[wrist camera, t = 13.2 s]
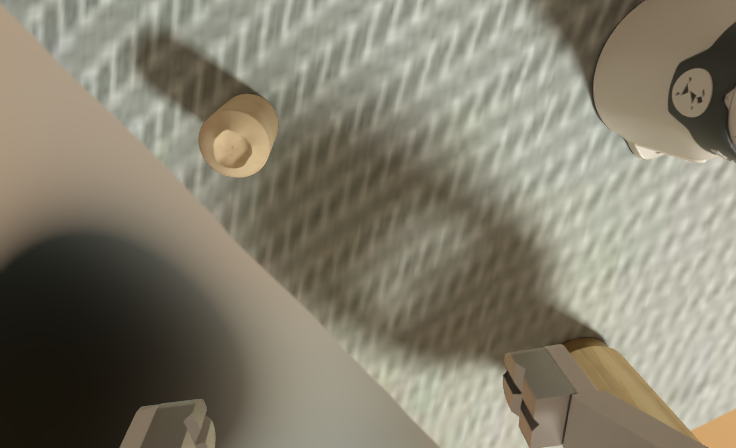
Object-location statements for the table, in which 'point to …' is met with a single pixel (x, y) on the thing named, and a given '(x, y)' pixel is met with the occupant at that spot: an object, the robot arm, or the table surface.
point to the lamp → (621, 380)
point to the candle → (239, 136)
